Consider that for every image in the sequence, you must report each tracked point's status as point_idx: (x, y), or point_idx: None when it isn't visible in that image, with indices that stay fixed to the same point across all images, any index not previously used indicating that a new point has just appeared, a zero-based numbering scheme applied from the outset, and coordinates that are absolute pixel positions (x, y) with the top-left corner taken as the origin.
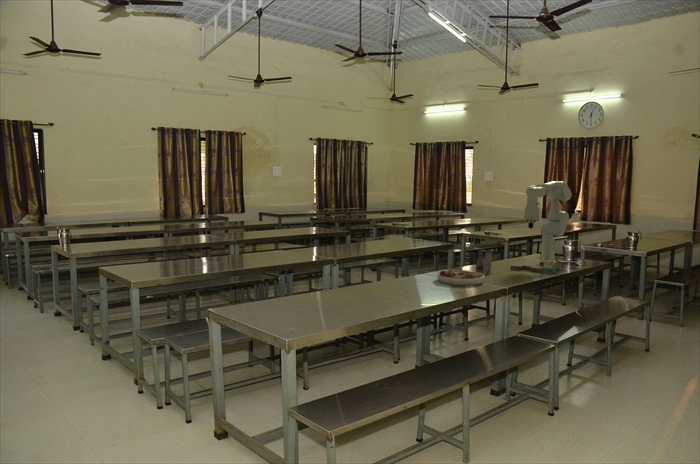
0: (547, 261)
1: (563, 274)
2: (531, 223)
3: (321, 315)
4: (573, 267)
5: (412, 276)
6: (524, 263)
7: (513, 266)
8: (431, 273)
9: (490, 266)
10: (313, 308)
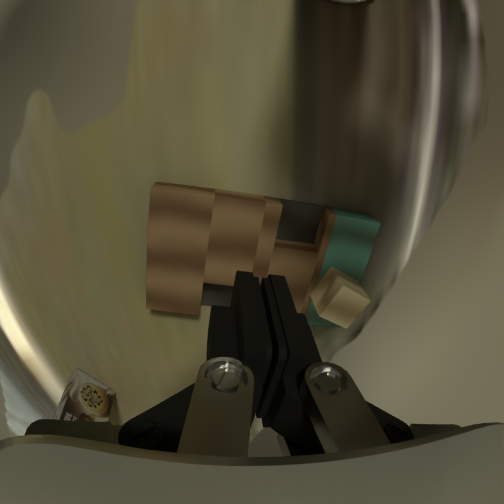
0: (334, 322)
1: (377, 308)
2: (269, 424)
3: None
4: (451, 104)
5: (12, 433)
6: (204, 206)
7: (160, 308)
8: (9, 408)
9: (109, 413)
10: None
